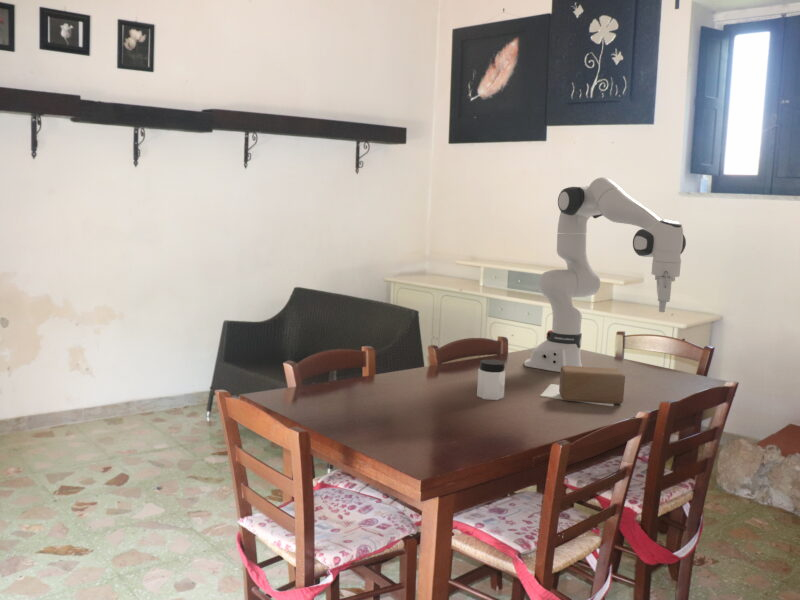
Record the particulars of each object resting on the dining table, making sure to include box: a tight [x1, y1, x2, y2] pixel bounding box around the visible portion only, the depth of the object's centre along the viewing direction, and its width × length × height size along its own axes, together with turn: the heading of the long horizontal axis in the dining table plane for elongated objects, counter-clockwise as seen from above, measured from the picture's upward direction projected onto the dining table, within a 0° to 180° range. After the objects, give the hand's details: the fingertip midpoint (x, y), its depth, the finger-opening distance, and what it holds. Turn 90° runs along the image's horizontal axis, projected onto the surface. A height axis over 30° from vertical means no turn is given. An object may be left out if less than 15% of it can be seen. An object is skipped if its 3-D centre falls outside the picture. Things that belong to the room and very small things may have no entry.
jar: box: [476, 358, 506, 401], centre depth 267 cm, size 9×8×12 cm
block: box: [558, 366, 626, 405], centre depth 268 cm, size 10×10×20 cm
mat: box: [540, 383, 615, 407], centre depth 275 cm, size 24×18×1 cm
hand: (661, 311), depth 264 cm, fingers closed
